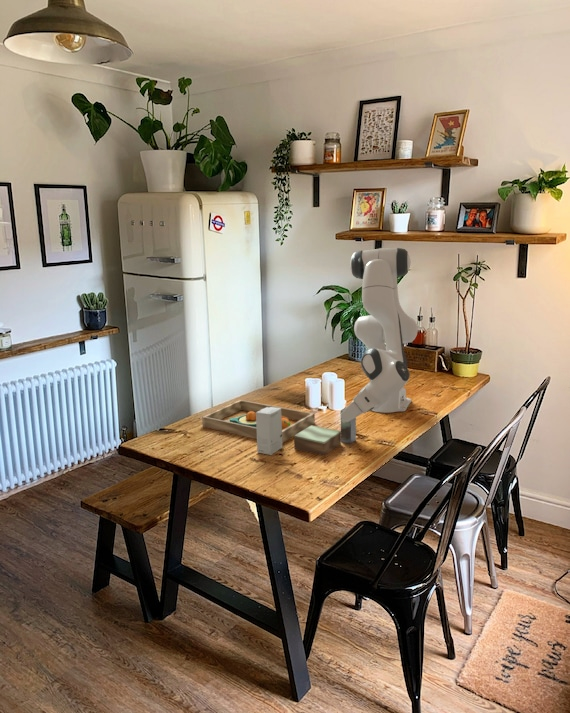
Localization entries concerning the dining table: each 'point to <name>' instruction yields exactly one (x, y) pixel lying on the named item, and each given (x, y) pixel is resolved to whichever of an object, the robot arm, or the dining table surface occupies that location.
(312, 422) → the shallow serving tray
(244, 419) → the toy juicer set
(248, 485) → the dining table surface
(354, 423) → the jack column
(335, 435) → the block
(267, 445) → the skincare box
